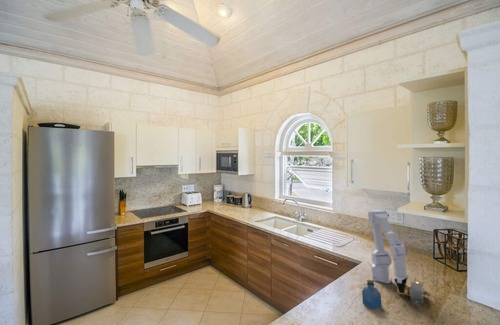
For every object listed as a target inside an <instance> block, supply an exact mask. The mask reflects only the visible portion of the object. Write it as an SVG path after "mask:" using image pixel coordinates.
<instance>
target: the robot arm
mask: <svg viewBox="0 0 500 325" xmlns="http://www.w3.org/2000/svg"><path fill="white" fill-rule="evenodd" d="M367 216H368V221H369V224H371V230H372V234H373V240H374V247H375V250H373V251H372V253H371V262H372V265H371V275H372V278H371V280H372V281H374V282H375V281H376V282H380V283H383V284H390V283H391V281H392V277H390V269H389V267H390V266H391V265H392V258H393V269H394V275H393V276H394V277H395V278H394V283H395V284H396V286H398V290H399V292H400V293H403V294H402V295H404V290H405V285H407V283H408V282H407V280H408V279H410V275H407V265H406V264H407V261H406V256H407V254H408V248H407V246H406V244H404V243H403V242H401V241H400V238H399V237H398V235H397V233H396V232H395V231H393V229H392V227H391V225H390V223H389V222H390V221H389V215H388V212H387V211H386V209H378V210H376V209H375V210H374V209H373V210H371V209H370V210H369V211H368V214H367ZM381 227H382V228H381ZM382 229H383V230H384V232H385V237H386V240H387V242H388V243H389V245H390V250H389V251H390V252H391V256H390V253H389V252H388V251H387V250H386V249H385V245H384V244H385V243H384V239H383V234H382ZM391 257H392V258H391ZM398 290H397V291H398Z"/></svg>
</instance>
